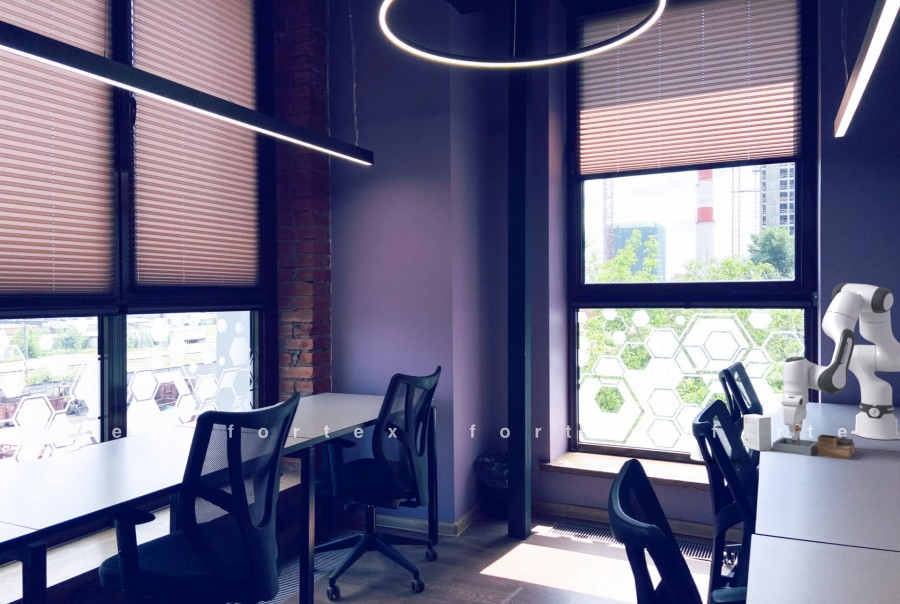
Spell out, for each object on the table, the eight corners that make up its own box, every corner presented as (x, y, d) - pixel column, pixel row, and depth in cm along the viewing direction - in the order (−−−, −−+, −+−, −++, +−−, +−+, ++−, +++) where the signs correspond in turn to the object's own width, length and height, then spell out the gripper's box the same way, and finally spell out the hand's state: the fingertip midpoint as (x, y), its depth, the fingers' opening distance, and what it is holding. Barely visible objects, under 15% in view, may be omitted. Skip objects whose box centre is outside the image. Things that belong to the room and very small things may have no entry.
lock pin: (793, 447, 257) (792, 424, 257) (800, 448, 256) (800, 425, 256) (791, 448, 255) (790, 425, 255) (799, 449, 254) (798, 426, 253)
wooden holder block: (824, 449, 256) (824, 431, 256) (854, 453, 249) (854, 435, 249) (817, 455, 247) (817, 437, 247) (848, 459, 240) (848, 440, 240)
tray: (782, 444, 265) (782, 437, 265) (818, 449, 256) (818, 441, 256) (773, 450, 255) (772, 442, 255) (810, 455, 246) (810, 447, 246)
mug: (709, 464, 236) (709, 431, 236) (685, 461, 241) (685, 429, 240) (717, 457, 245) (716, 426, 245) (693, 454, 250) (693, 423, 250)
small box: (771, 449, 256) (771, 417, 256) (759, 451, 254) (759, 418, 254) (755, 445, 264) (755, 413, 264) (743, 447, 262) (743, 414, 262)
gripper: (793, 394, 265) (793, 428, 265) (779, 400, 250) (780, 436, 250) (810, 395, 261) (811, 430, 261) (797, 402, 246) (798, 438, 246)
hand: (795, 433), depth 255 cm, fingers open, 8 cm apart
